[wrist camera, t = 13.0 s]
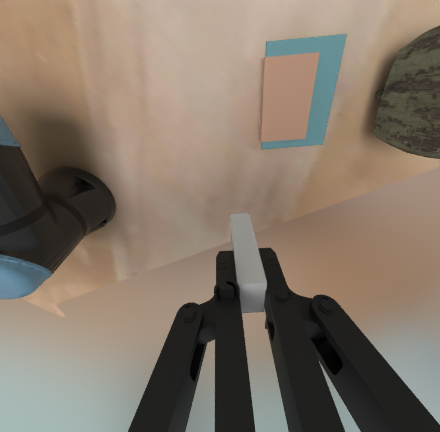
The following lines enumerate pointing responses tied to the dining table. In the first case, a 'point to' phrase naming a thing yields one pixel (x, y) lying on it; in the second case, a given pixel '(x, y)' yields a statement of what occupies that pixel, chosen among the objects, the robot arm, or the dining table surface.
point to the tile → (286, 96)
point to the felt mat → (323, 83)
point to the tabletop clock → (413, 98)
